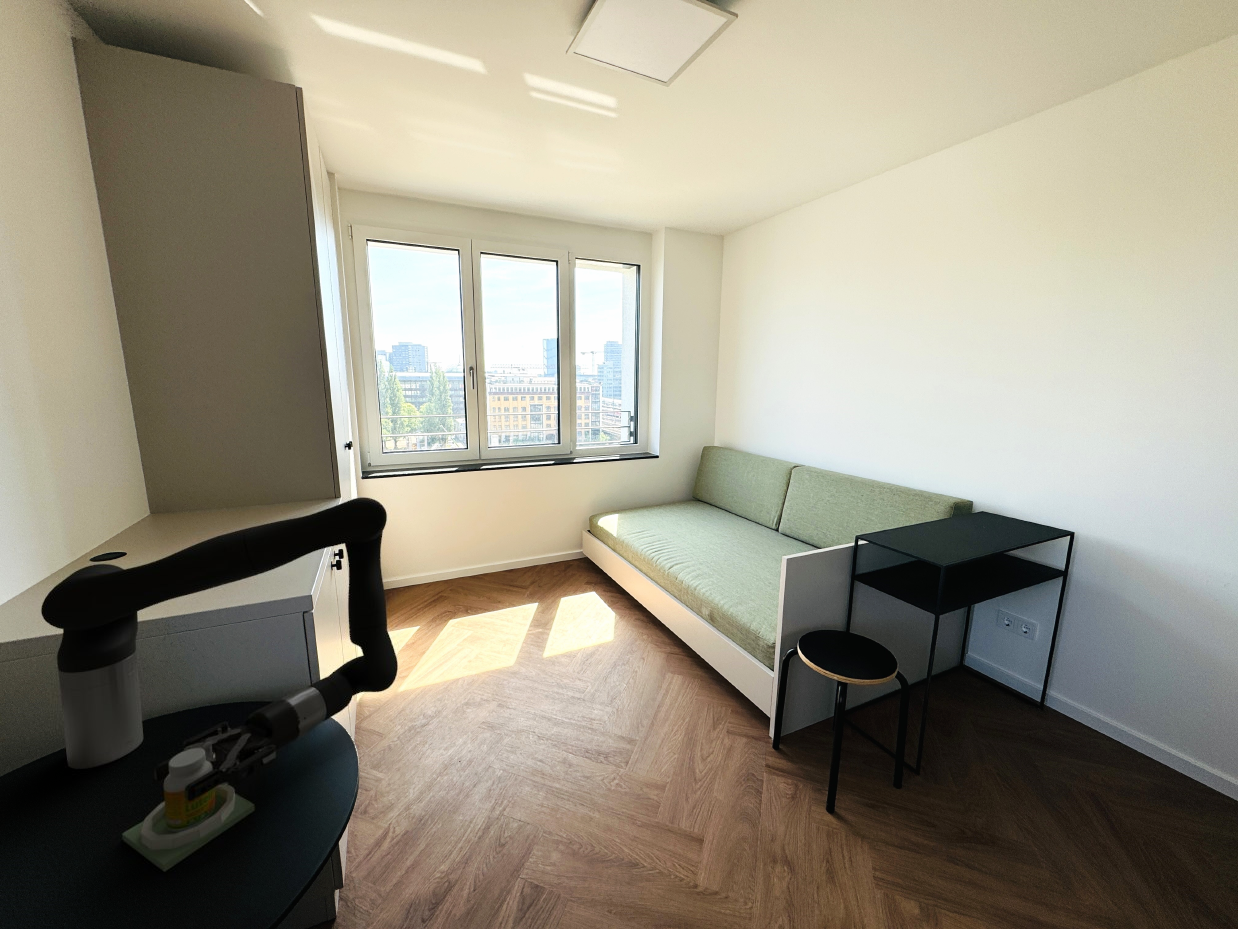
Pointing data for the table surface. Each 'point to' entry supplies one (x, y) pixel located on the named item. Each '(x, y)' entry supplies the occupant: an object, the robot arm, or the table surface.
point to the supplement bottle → (176, 805)
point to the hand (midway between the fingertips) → (170, 784)
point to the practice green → (176, 846)
